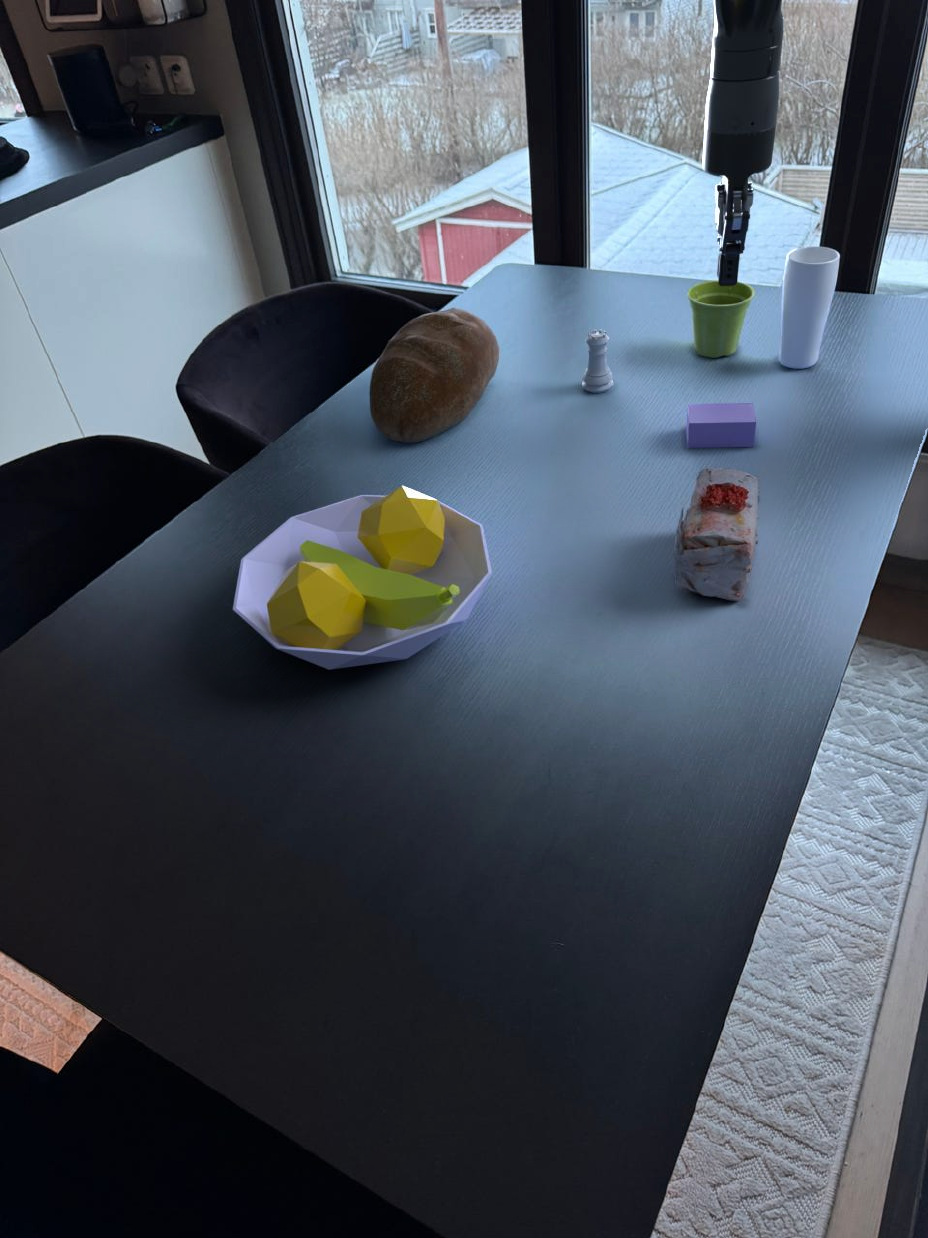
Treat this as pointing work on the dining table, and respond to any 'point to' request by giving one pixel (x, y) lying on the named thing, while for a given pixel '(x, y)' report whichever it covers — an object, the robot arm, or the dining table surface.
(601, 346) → the rook chess piece
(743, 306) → the plant pot
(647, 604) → the dining table surface
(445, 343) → the bread
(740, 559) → the food item
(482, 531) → the fruit bowl
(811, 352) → the drinking glass
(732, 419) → the lavender block
